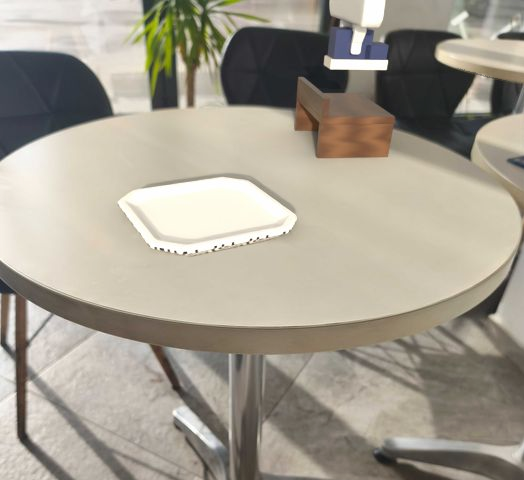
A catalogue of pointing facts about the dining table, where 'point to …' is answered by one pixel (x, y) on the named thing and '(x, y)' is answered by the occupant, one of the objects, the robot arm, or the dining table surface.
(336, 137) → the shoe shelf
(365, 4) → the robot arm
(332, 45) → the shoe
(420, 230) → the dining table surface
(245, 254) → the dining table surface
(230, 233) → the plate
